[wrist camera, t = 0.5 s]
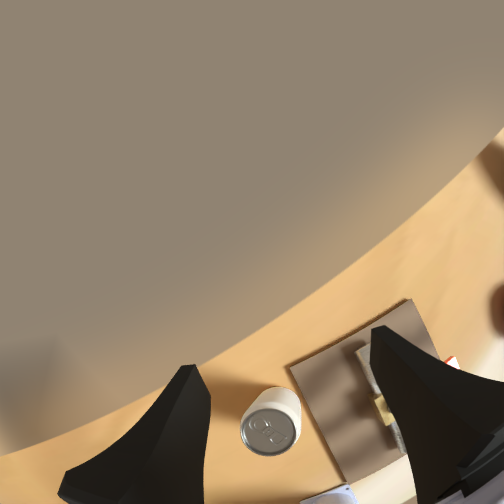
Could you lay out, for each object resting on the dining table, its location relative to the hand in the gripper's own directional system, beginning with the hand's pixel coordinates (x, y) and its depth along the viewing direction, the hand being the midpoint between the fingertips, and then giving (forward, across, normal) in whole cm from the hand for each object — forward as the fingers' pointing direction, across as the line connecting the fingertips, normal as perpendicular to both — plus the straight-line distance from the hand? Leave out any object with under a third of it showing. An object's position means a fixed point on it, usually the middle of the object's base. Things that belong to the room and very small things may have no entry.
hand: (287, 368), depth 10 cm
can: (+16, +3, +24) cm, 29 cm away
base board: (+14, -12, +26) cm, 32 cm away
